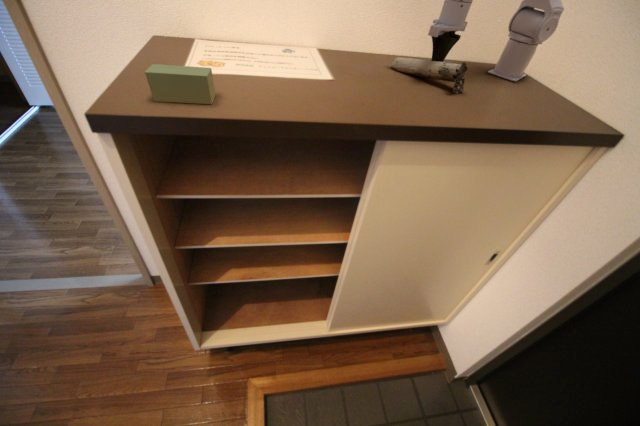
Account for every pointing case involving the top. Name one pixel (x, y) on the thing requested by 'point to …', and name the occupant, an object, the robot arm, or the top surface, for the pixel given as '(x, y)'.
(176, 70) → the green rectangular block
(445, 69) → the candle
